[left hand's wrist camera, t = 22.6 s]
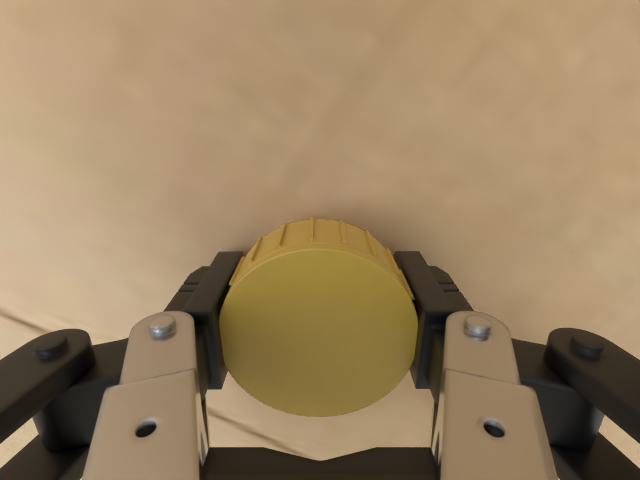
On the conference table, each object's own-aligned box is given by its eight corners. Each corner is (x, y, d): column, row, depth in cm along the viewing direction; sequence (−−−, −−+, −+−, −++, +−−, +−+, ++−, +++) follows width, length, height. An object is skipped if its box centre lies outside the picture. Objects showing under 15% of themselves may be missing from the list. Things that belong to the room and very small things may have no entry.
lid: (418, 224, 10) (442, 255, 8) (388, 370, 12) (402, 425, 10) (234, 208, 10) (212, 236, 8) (233, 359, 12) (215, 412, 10)
